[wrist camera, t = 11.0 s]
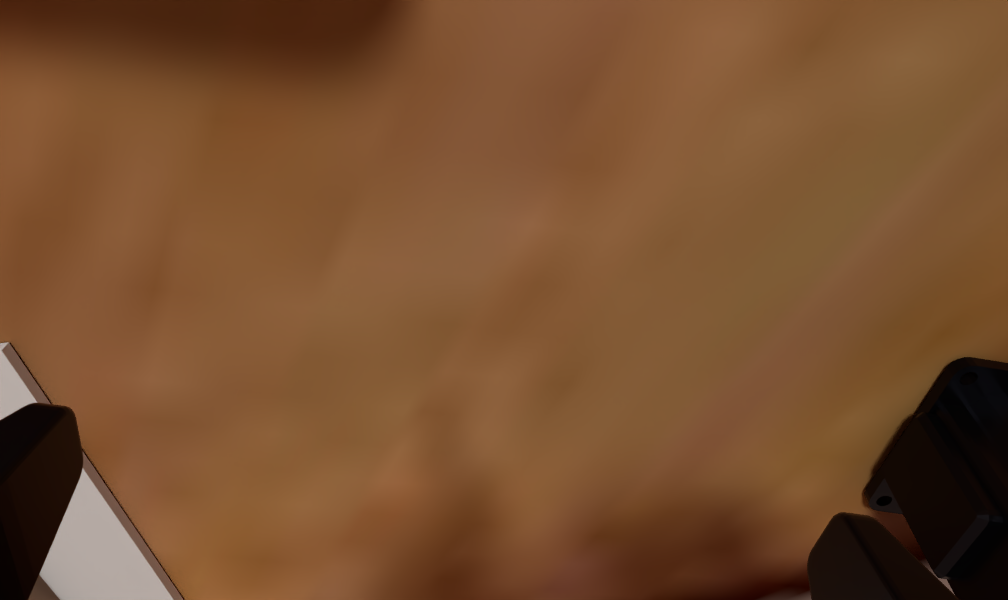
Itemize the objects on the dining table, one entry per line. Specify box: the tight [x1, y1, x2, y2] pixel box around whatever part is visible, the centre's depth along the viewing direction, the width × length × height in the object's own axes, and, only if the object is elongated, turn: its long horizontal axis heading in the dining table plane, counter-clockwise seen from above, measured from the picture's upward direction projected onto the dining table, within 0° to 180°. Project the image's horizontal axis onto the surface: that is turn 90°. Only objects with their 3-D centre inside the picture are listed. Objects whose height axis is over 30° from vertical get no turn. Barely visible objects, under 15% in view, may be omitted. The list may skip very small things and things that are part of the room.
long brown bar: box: [28, 575, 60, 600], centre depth 28 cm, size 1×14×1 cm, turn 9°
